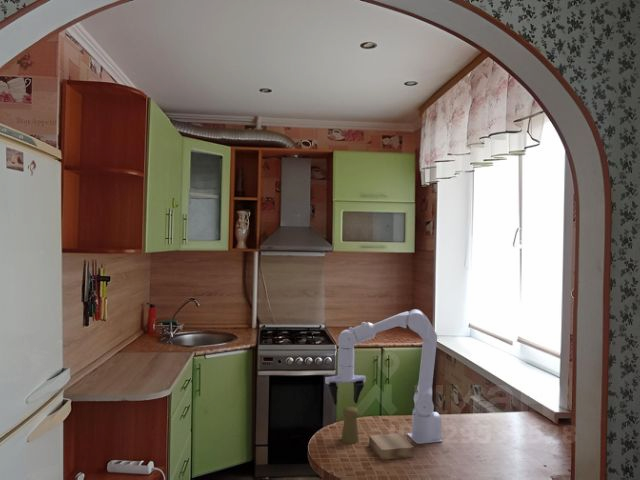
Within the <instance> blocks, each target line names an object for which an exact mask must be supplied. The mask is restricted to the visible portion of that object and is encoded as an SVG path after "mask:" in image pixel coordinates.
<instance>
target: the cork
mask: <svg viewBox="0 0 640 480" xmlns="http://www.w3.org/2000/svg"><path fill="white" fill-rule="evenodd" d="M342 412H343V413H342V414H343V417H344V420H343V425H342V431H341V438H340V440H341V442H342V443H344V444H348V445H349V444H357V443H359V441H360V438H359V428H358V419H357V418H358V417H359V410H358V408H357V407H355V406H346V407H344V409H343V410H342Z"/></svg>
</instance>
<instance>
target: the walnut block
mask: <svg viewBox="0 0 640 480" xmlns="http://www.w3.org/2000/svg"><path fill="white" fill-rule="evenodd" d="M368 446H370V448H371V449H372V450H373V451H374V452H375V454H376V455H377V456H378V457H379V459H380V460H391V459H393V460H395V459H400V458H401V459H403V458H412V457H413V458H414V457H415V446H414V445H413V444H412V443H411V442H409V440H408V439H406V437H404V435H402V434H401V432H398V433H388V434H387V433H386V434H375V435H368Z"/></svg>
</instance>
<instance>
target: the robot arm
mask: <svg viewBox="0 0 640 480" xmlns="http://www.w3.org/2000/svg"><path fill="white" fill-rule="evenodd" d="M407 326H408V328H409V329H410V330H411V331H413V332H415V333H416V334H418V336H419V337H420V338H421V339H422V346H421V356H420V364H419V365H420V366H419V373H418V382H417V388H416V391H415V393H414V395H413V401H414V408H413V409H412V417H411V418H412V419H411V420H412V421H411V422H412V423H411V432H408V433H407V436H408V437H409V438H410V439H411V440H412V441H413V442H415V443H416V444H418V445H419V444H430V443H440V442H441V443H442V442H443V440H442V419H441V416H440V414H439V412H438V411H434V410H435V404H434V403H433V383H434V382H433V381H434V380H433V379H434V372H435V371H434V370H435V362H436V354H437V353H436V352H437V342H438V335H437V332H436V331H435V329H434V326H433V325H432V323H431V321H430V320H429V318H428V317H427V315H426V314H424V312H423V311H422V310H420V309H416V308H415V309H411V310H410V311H404V312H400V313H398V314H395V315H393V316H390V317H388V318H385V319H382V320H381V321H378V322H375V323H371V322H369V321H368V322H365V321H362V322H361V324H360V325H356V326H354V327H352V326H350V327H349V328H348V329H343V330H342V331H341V332H340V333H339V335H338V338H337V342H338V354H337V355H338V357H337V375H332V376H325V379H324V380H325V381H324V383H325V384H326V385H328V388H329V390H330V394H331V397H332V398H331V399H332V403H333V405H335V406H336V405H338V403H337V402H338V399H337V398H338V396H337V395H338V388H339V386H338V385H337V384H343V383H344V384H346V383H347V384H348V383H353V402H354V403H355V404H358V401H359V397H360V395H361V392H362V390H363V389H364V387H365V384H364V383H367V377H366V375H365V374H364V375H363V374H362V375H360V374H355V344H361V343H364V342H367V341H370V340H371V339H375V337H376V334H377V333H381V332H384V331H387V330H390V329H393V328H396V327H400V328H403V329H407Z"/></svg>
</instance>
